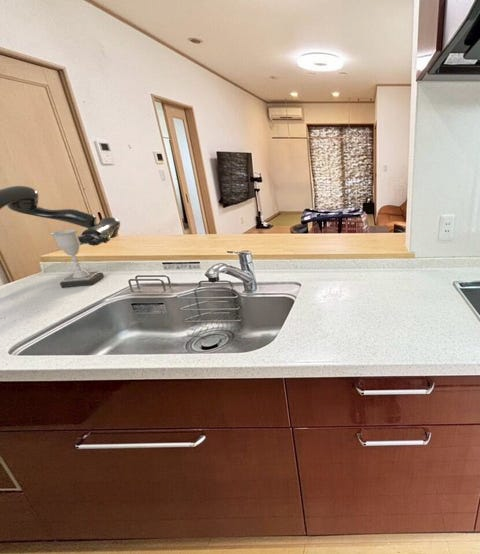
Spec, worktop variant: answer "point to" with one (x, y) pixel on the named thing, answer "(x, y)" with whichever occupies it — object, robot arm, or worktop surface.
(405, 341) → the worktop surface
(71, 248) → the chalice
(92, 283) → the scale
